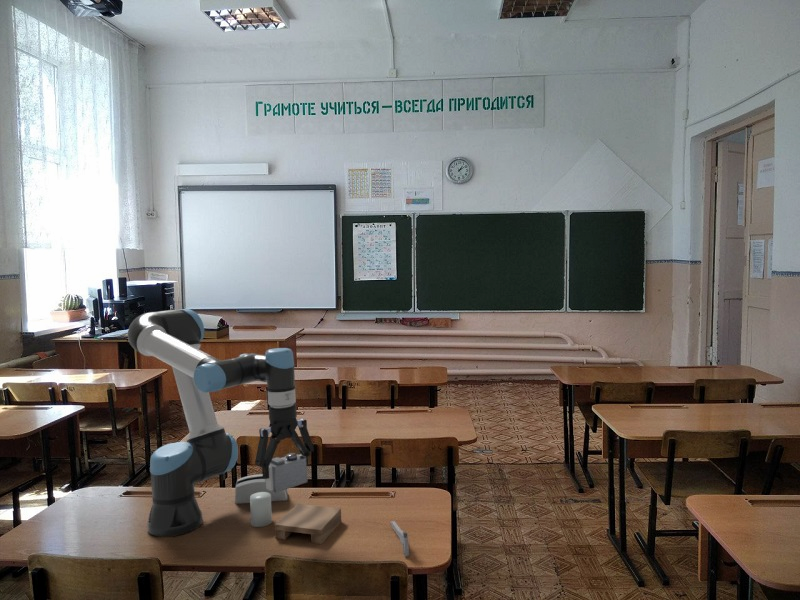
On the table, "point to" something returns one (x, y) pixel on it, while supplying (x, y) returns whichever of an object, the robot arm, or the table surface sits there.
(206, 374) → the robot arm
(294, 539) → the table surface
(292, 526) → the stand
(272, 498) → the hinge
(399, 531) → the caliper
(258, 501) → the pale grey pebble
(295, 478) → the housing
